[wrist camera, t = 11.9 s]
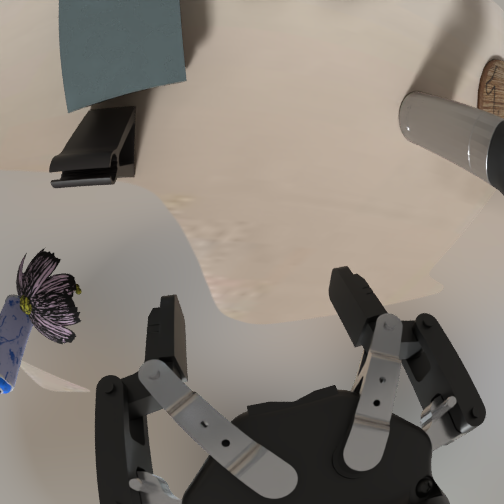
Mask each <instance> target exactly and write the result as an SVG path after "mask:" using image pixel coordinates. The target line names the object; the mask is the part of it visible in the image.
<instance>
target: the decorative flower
mask: <svg viewBox="0 0 504 504" xmlns="http://www.w3.org/2000/svg"><path fill="white" fill-rule="evenodd" d="M43 250H44V249H43ZM43 250H41V251H40V252H39V253H38V254H37V255H36V256H35V257H34V258H33V259H32V261H31V262H30V264H29V265H28V267H27V269H26V271H25V273H22V268H23V262H24V259H25V256H26V255H25V256H24V258H23V259H22V261H21V264H20V266H19V270H18V274H17V282H16V284H17V292H18V296H19V299H20V309H21V310H22V311H23V312H24V313H25V314H26V315H28V316H29V319H30V320H31V322H32V324H33V325H34V326H35V328H36V329H37V330H38V331H39V332H40V333H41V334H43V335H44V336H45V337H47V338H48V339H50V340H52V341H54V342H57V343H60V344H63V343H66V342H70V343H71V342H72V341H73V340H74V338H75V337H76V336H75V333H74V332H72V331H71V330H70V329H68V328H65V327H64V326H68V325H73V324H76V323H78V322H80V321H81V320H80V319H79V318H78V316H79V313H80V312H77V307H75V304H74V302H73V300H72V297H73V293H74V291H76V293H77V294H81V289H80V288H79V285H78V284H76V283H75V280H74V277H73V276H72V275H70V274H56V275H53V276H50V275H51V274H52V272H53V271H54V270H55V269H56V267H57V265H58V263H59V262H60V259H58V258H56V257H55V256H54V253H52V254H51V253H50V252H45V251H43ZM49 276H50V277H49Z"/></svg>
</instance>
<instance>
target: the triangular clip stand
mask: <svg viewBox="0 0 504 504" xmlns="http://www.w3.org/2000/svg"><path fill="white" fill-rule="evenodd" d="M135 111H136V107H123V108H110V109H99V110H90V111H88V113H87V114H86V115H85V117H84V118H83V120H82V121H81V123H80V124H79V126H78V127H77V129H76V130H75V132H74V133H73V135H72V136H71V138H70V139H69V141H68V143H67V144H66V146H65V147H64V149H63V151H62V152H61V153H60V154H59V155H57V156H55V157H54V158H53V159H52V161H51V164H50V169H49V172H58V171H62V175H61V179H60V180H52V181H51V185H52V186H53V187H54V188H64V187H76V186H92V185H109V184H110V185H111V184H114V183H115V182H116V179H117V178H122V177H134V175H135V171H134V139H135Z"/></svg>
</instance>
